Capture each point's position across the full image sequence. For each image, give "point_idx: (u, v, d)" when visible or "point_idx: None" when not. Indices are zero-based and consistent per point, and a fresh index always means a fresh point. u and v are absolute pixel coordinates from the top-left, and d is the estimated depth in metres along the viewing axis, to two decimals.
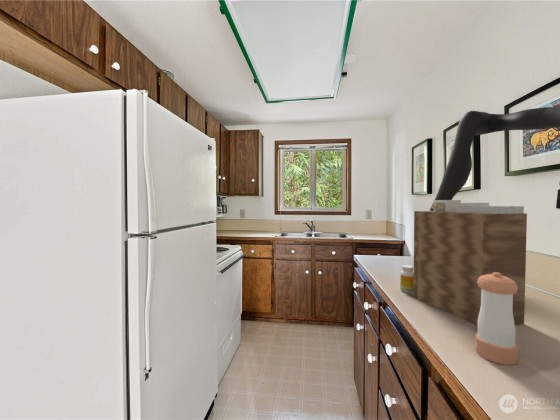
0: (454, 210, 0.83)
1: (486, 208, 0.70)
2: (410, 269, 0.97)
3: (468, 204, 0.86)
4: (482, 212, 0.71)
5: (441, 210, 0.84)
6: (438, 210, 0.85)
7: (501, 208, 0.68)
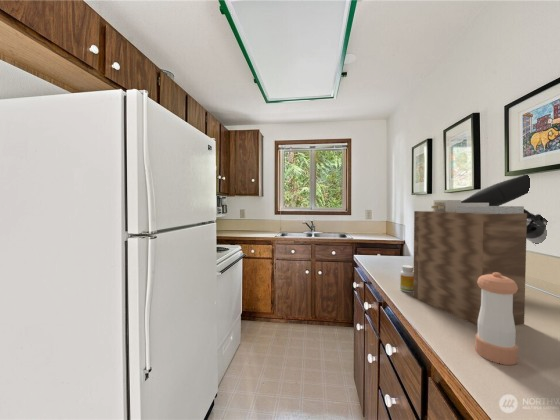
0: (454, 210, 0.83)
1: (486, 208, 0.70)
2: (410, 269, 0.97)
3: (468, 204, 0.86)
4: (482, 212, 0.71)
5: (441, 210, 0.84)
6: (438, 210, 0.85)
7: (501, 208, 0.68)
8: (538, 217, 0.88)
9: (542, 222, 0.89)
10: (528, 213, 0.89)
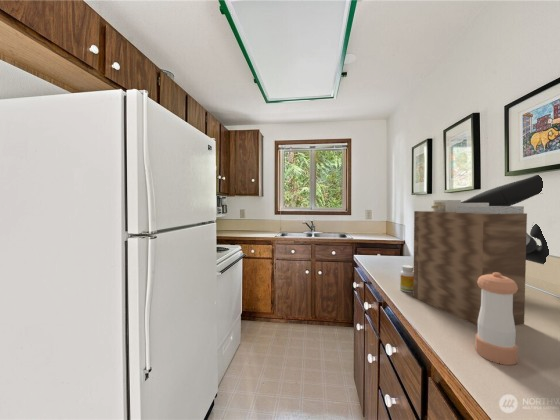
0: (454, 210, 0.83)
1: (486, 208, 0.70)
2: (410, 269, 0.97)
3: (468, 204, 0.86)
4: (482, 212, 0.71)
5: (441, 210, 0.84)
6: (438, 210, 0.85)
7: (501, 208, 0.68)
8: None
9: None
10: None
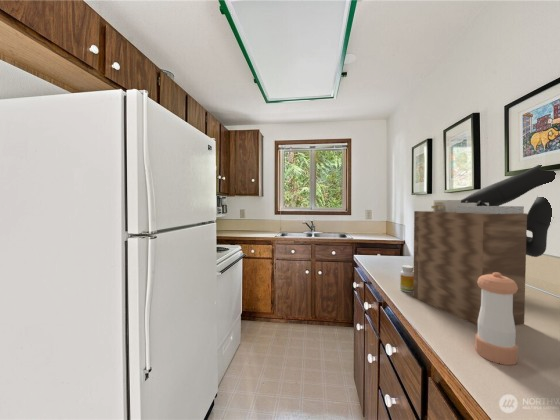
0: (454, 210, 0.83)
1: (486, 208, 0.70)
2: (410, 269, 0.97)
3: (468, 204, 0.86)
4: (482, 212, 0.71)
5: (441, 210, 0.84)
6: (438, 210, 0.85)
7: (501, 208, 0.68)
8: None
9: None
10: (485, 205, 0.86)
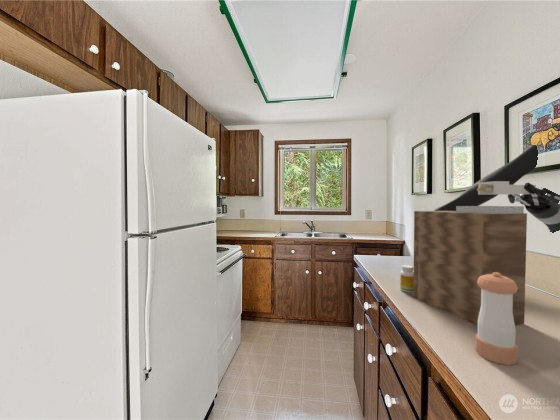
0: (502, 192, 0.78)
1: (486, 208, 0.70)
2: (410, 269, 0.97)
3: (515, 186, 0.81)
4: (482, 212, 0.71)
5: (488, 192, 0.79)
6: (484, 193, 0.81)
7: (501, 208, 0.68)
8: (544, 191, 0.80)
9: (551, 196, 0.80)
10: (533, 187, 0.81)
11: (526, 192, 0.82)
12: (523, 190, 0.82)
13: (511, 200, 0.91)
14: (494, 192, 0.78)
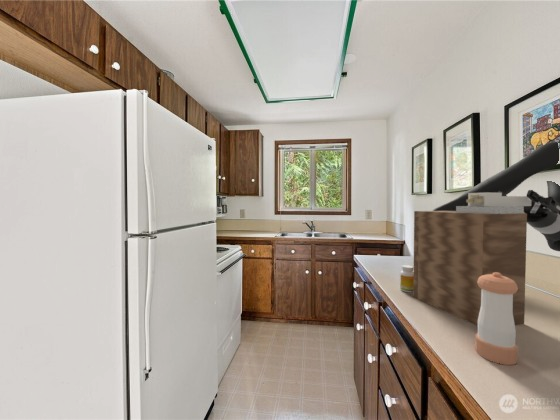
0: (494, 204, 0.72)
1: (486, 208, 0.70)
2: (410, 269, 0.97)
3: (509, 198, 0.74)
4: (482, 212, 0.71)
5: (478, 204, 0.73)
6: (474, 204, 0.74)
7: (501, 208, 0.68)
8: (549, 200, 0.72)
9: (554, 206, 0.72)
10: (537, 195, 0.73)
11: (521, 204, 0.75)
12: (517, 202, 0.75)
13: None
14: (485, 204, 0.71)
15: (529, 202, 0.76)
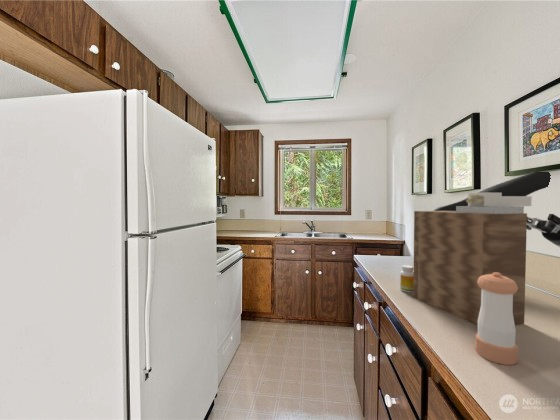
0: (494, 204, 0.72)
1: (486, 208, 0.70)
2: (410, 269, 0.97)
3: (509, 198, 0.74)
4: (482, 212, 0.71)
5: (478, 204, 0.73)
6: (474, 204, 0.74)
7: (501, 208, 0.68)
8: None
9: None
10: (558, 219, 0.77)
11: (521, 204, 0.75)
12: (517, 202, 0.75)
13: None
14: (485, 204, 0.71)
15: (529, 202, 0.76)
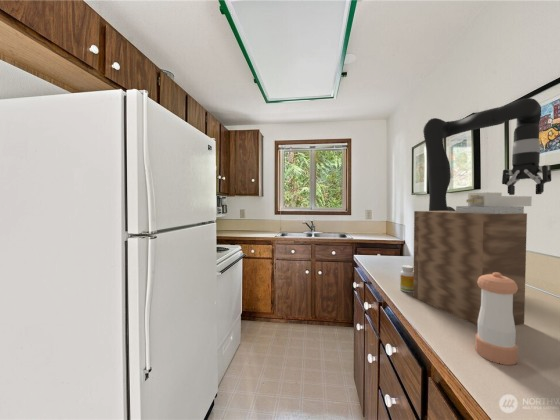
0: (494, 204, 0.72)
1: (486, 208, 0.70)
2: (410, 269, 0.97)
3: (509, 198, 0.74)
4: (482, 212, 0.71)
5: (478, 204, 0.73)
6: (474, 204, 0.74)
7: (501, 208, 0.68)
8: (548, 180, 0.89)
9: (549, 173, 0.89)
10: (542, 188, 0.91)
11: (521, 204, 0.75)
12: (517, 202, 0.75)
13: None
14: (485, 204, 0.71)
15: (529, 202, 0.76)
